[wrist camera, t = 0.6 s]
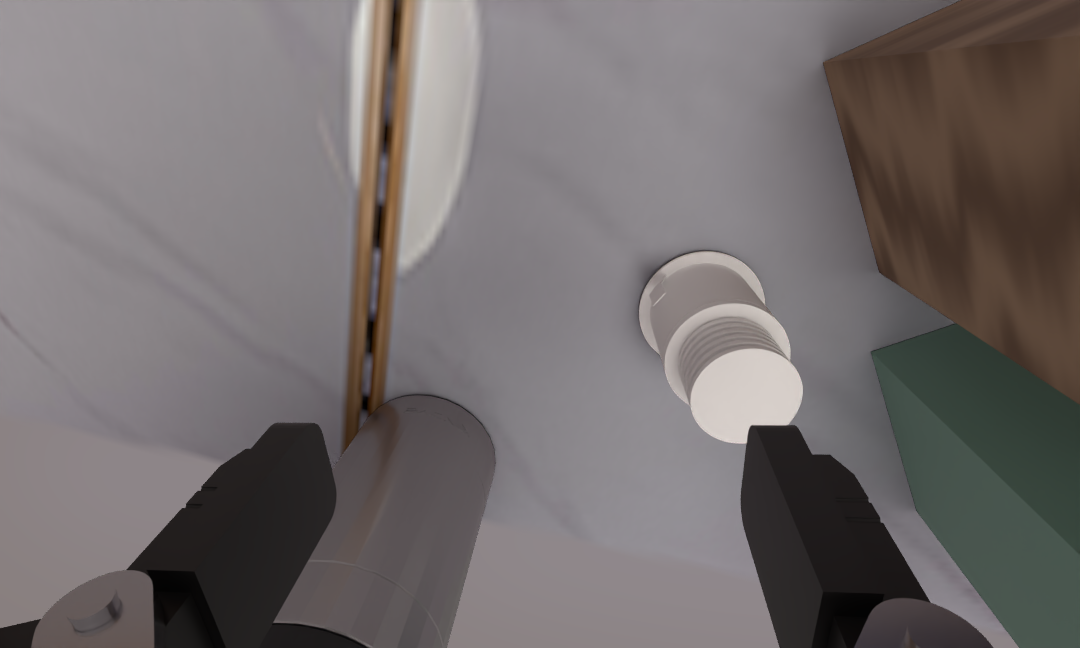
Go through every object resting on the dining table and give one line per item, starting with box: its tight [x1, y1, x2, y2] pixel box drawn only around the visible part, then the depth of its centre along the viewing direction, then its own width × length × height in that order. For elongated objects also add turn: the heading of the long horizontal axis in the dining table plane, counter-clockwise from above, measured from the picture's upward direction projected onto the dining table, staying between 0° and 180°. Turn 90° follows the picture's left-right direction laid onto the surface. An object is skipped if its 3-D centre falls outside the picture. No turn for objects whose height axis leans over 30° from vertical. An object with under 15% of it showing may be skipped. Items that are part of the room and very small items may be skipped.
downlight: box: [639, 251, 803, 444], centre depth 29 cm, size 8×7×10 cm
